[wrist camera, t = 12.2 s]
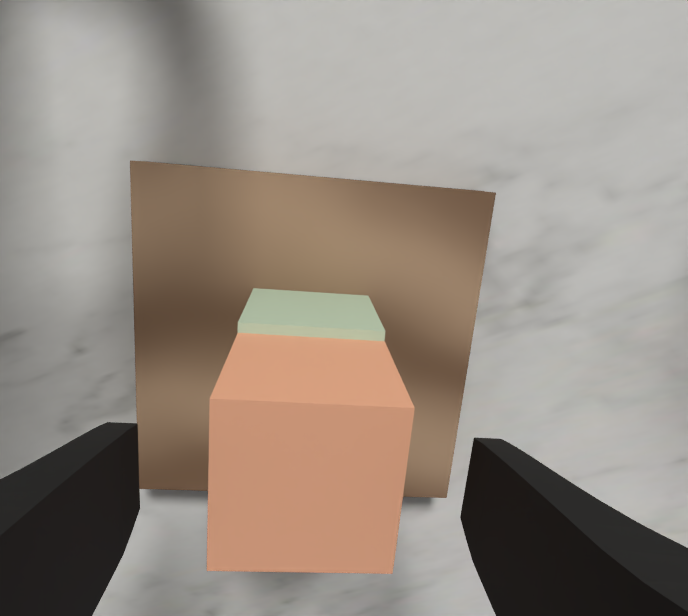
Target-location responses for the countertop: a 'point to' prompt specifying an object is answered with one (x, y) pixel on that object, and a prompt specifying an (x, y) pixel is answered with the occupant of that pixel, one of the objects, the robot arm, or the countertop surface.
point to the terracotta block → (306, 456)
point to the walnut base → (297, 275)
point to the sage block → (311, 315)
